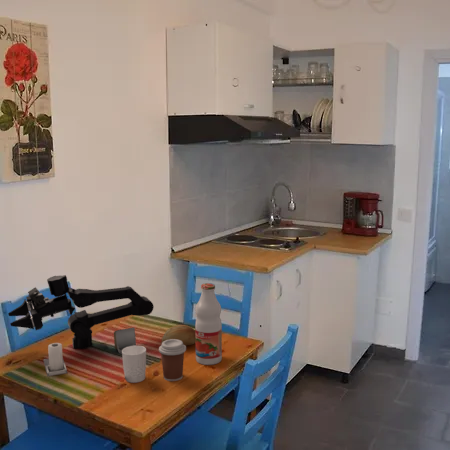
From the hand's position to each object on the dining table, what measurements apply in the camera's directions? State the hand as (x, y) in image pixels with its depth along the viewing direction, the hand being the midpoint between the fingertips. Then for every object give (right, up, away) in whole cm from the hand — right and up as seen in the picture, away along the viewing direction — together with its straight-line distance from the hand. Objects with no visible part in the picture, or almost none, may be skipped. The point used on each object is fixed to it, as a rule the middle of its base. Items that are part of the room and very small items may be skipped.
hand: (9, 319), depth 192 cm
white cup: (+46, -18, -12) cm, 51 cm away
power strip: (+18, -17, -5) cm, 25 cm away
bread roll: (+59, -13, +16) cm, 63 cm away
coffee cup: (+59, -18, -11) cm, 63 cm away
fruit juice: (+71, -15, +3) cm, 72 cm away
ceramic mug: (+39, -14, +13) cm, 43 cm away
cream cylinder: (+19, -16, -9) cm, 27 cm away
